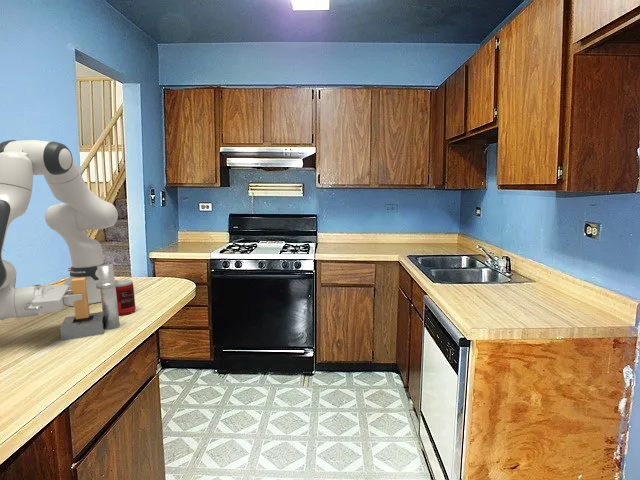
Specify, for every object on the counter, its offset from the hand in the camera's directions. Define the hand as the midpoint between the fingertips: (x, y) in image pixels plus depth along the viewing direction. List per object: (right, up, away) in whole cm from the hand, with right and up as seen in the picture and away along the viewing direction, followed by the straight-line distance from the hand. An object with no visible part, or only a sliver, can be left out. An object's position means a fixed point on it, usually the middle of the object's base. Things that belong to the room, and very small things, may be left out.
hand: (83, 294), depth 130 cm
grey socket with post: (+2, -11, +2) cm, 12 cm away
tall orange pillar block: (-1, -7, +1) cm, 7 cm away
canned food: (+3, -9, +20) cm, 22 cm away
